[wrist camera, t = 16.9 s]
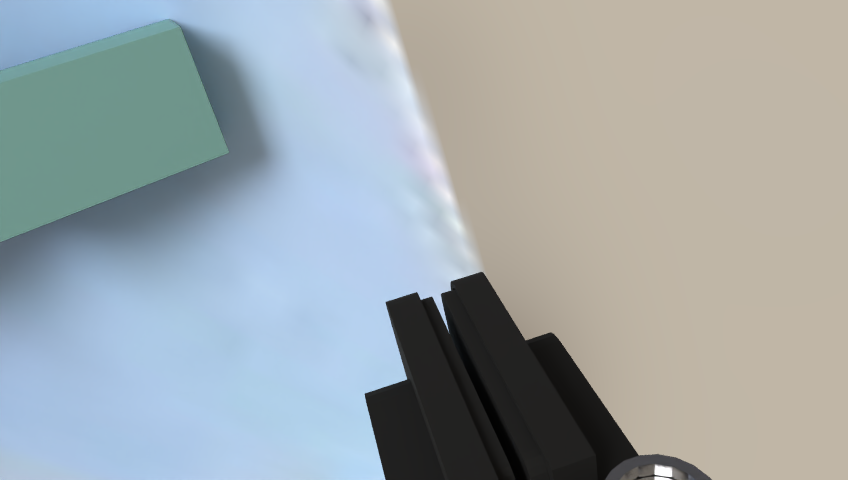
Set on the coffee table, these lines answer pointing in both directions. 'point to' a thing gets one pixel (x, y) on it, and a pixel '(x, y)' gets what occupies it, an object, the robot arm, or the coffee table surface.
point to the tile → (100, 124)
